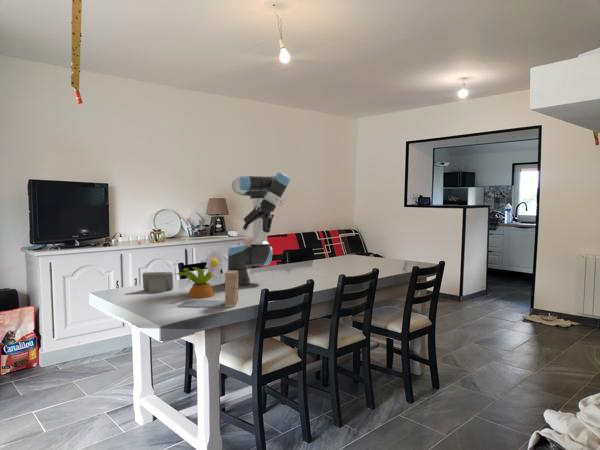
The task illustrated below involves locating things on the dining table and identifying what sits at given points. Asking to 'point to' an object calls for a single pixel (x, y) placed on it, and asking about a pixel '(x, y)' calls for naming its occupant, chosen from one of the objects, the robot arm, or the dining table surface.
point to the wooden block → (231, 288)
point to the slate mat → (202, 303)
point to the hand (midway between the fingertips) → (249, 239)
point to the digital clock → (157, 281)
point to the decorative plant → (200, 285)
